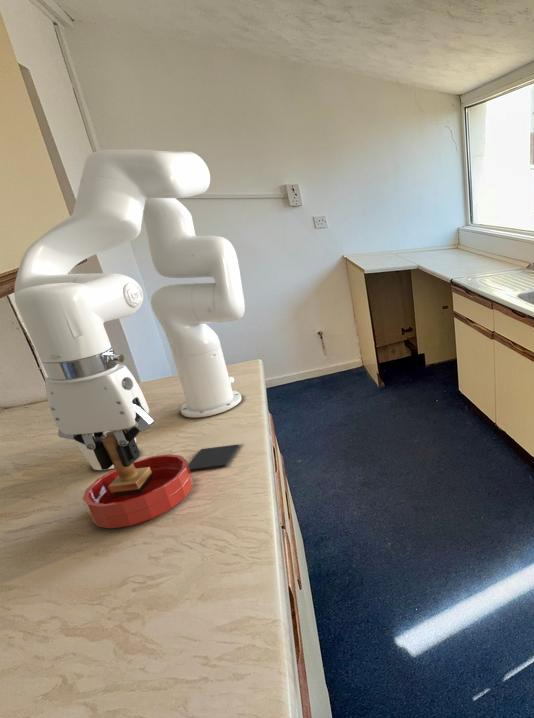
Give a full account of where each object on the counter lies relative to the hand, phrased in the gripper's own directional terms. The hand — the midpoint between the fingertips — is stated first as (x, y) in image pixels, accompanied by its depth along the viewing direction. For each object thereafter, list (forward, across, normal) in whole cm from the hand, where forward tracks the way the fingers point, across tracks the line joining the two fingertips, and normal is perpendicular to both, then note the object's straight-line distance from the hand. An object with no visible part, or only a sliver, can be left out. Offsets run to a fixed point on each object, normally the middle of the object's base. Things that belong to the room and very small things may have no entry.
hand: (121, 462), depth 67 cm
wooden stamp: (+6, 0, -1) cm, 6 cm away
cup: (+9, +11, -14) cm, 20 cm away
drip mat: (+8, -8, -10) cm, 15 cm away
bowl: (+8, -2, 0) cm, 8 cm away
